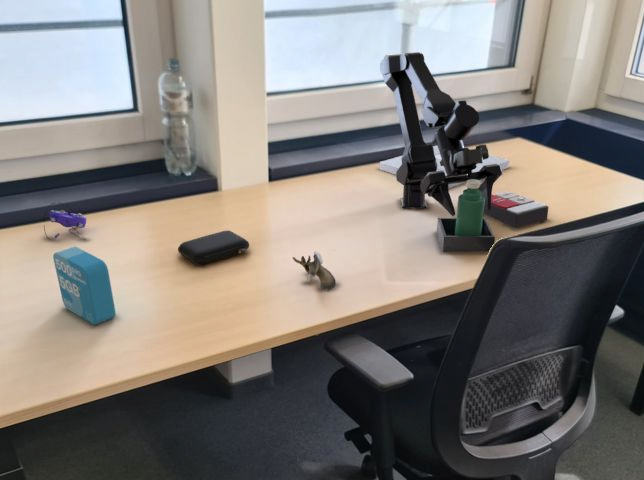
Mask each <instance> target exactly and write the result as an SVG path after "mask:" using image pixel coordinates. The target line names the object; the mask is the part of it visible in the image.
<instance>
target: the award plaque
mask: <svg viewBox="0 0 644 480" xmlns="http://www.w3.org/2000/svg"><path fill="white" fill-rule="evenodd" d="M432 146H433V145H432ZM433 149H434V155H435V158H436V162H437V171H443V172H445V175H446V171H445V168H444V166H441V165H440V161H441V160H442V158H441V155H440V152H439V149H438V145H437V144H436V145H434V146H433ZM468 149H469V150H471V149H470V148H468ZM401 159H402V155H399V156H396V157H393V158H389V159H386V160H382V161H379V170H380V171H383V172H386V173H389V174H392V175H395V176H396V172H397V170H398V169H399V167H400V166H401V165H402V160H401ZM491 164H498V165H500V167H501V170H502V171H503V170H506V169H509V167H510V160H509V159H505V158H501V157H500V156H499V157H498V156H495V155H491V154H489V157H488V159H484V160H483V163H478V164H476V166H477V167H476V168H475V169H473V170H472V172H479V171H480V169H481V168H482V167H483V166H484V165H491ZM446 176H447V175H446ZM465 183H466V184H467V182H462V183H455V184H448V188H449V189H451V188H454V187H457V186H460V185H462V184H465Z"/></svg>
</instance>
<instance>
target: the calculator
mask: <svg viewBox="0 0 644 480" xmlns="http://www.w3.org/2000/svg"><path fill="white" fill-rule="evenodd" d="M548 214H549V206H548V205H547V204H544V203H542V202H539V201H535V199H533V198H529V197H526V196H524V195H520V194H518V193H515V192H513V191H510V190H505V191H500V192H497V193H494V194H492V196H491V209H490V210H489V211H487V209H486V208H485V206H484V213H483V215H486V216H488V217H491V218H493V219H496V220H498V221H501V222H503V223H504V224H505V225H507V226H509V227H511V228H514V229H518V228H522V227H527V226H529V225H534V224H537V223H542V222H544V221H548Z"/></svg>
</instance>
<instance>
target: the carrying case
mask: <svg viewBox="0 0 644 480" xmlns="http://www.w3.org/2000/svg"><path fill="white" fill-rule="evenodd" d="M248 249H250V242H249V241H248V240H247V239H246V238H244V237H242V236H241V235H239V234H237V233H235V232H233V231H232V230H222V231H219V232H215V233H212V234H207V235H204V236H200V237H197V238H193V239H190V240H186V241H183V242H182V243H180V244H179V246H178V248H177V251H178V253H179V254H180V255H181V256H183V257H184V258H185V259H188V260H189V261H191V262H192V263H193V264H195V265H198V266H199V265H200V266H201V265H205V264H209V263H212V262H216V261H219V260H222V259H225V258H229V257H232V256H236V255H240V254H242V253H245V252H246V251H247V250H248Z"/></svg>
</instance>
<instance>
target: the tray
mask: <svg viewBox="0 0 644 480" xmlns="http://www.w3.org/2000/svg"><path fill="white" fill-rule="evenodd" d="M436 223H437V224H436V235H437V238H438V242H439V244H440V247H441V251H442V252H443V253H481V252H482V253H489V250H490V248H491V247H492V245H493V244H494V245H495V239H496V235H495V234H494V232H493V230H492V227H491V225H490V223H489V221H488V219H487V217H483V222H482V230H481V236H455V227H456V217H437V221H436Z"/></svg>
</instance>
